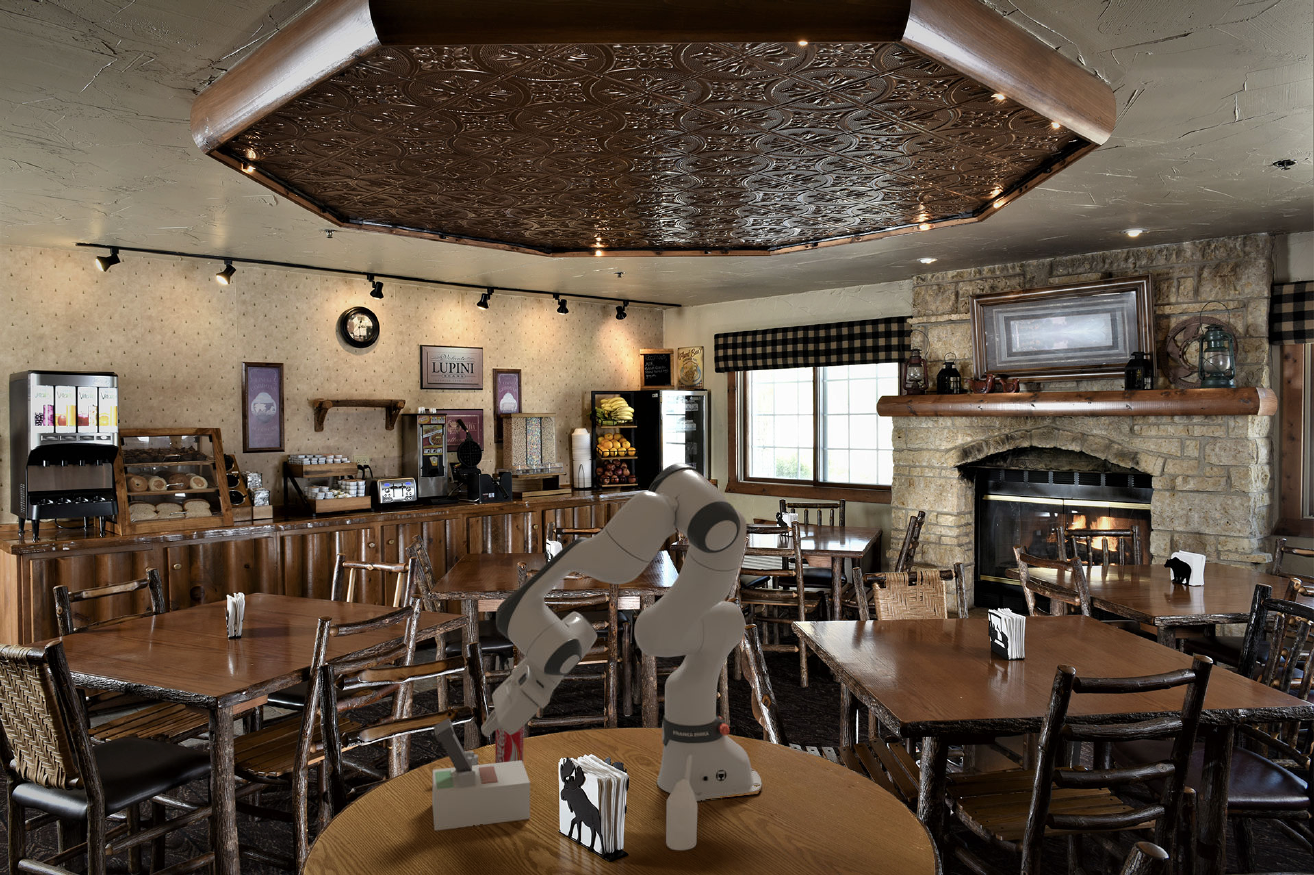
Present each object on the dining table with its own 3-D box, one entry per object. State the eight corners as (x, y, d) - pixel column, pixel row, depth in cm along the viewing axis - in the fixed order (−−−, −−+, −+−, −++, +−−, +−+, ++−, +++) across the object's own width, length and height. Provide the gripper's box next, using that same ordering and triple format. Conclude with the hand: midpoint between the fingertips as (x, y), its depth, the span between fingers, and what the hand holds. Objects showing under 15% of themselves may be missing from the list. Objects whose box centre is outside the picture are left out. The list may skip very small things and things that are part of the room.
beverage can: (489, 769, 186) (489, 716, 186) (509, 761, 191) (509, 709, 191) (509, 776, 182) (509, 721, 182) (529, 767, 187) (529, 714, 188)
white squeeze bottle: (681, 769, 156) (704, 777, 152) (681, 833, 156) (704, 843, 152) (659, 778, 151) (682, 786, 148) (659, 844, 151) (682, 854, 147)
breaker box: (521, 794, 173) (521, 748, 173) (529, 818, 161) (530, 770, 162) (432, 804, 168) (432, 757, 168) (434, 830, 156) (434, 780, 156)
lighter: (477, 773, 184) (478, 737, 184) (477, 777, 182) (477, 740, 182) (445, 775, 182) (445, 739, 182) (444, 779, 181) (444, 742, 181)
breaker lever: (474, 765, 167) (448, 717, 166) (476, 775, 162) (450, 726, 160) (459, 773, 166) (434, 726, 165) (461, 784, 161) (435, 735, 159)
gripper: (516, 657, 179) (470, 706, 176) (527, 684, 159) (474, 739, 156) (537, 676, 180) (491, 725, 177) (550, 705, 160) (498, 761, 157)
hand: (483, 732), depth 166 cm, fingers closed
